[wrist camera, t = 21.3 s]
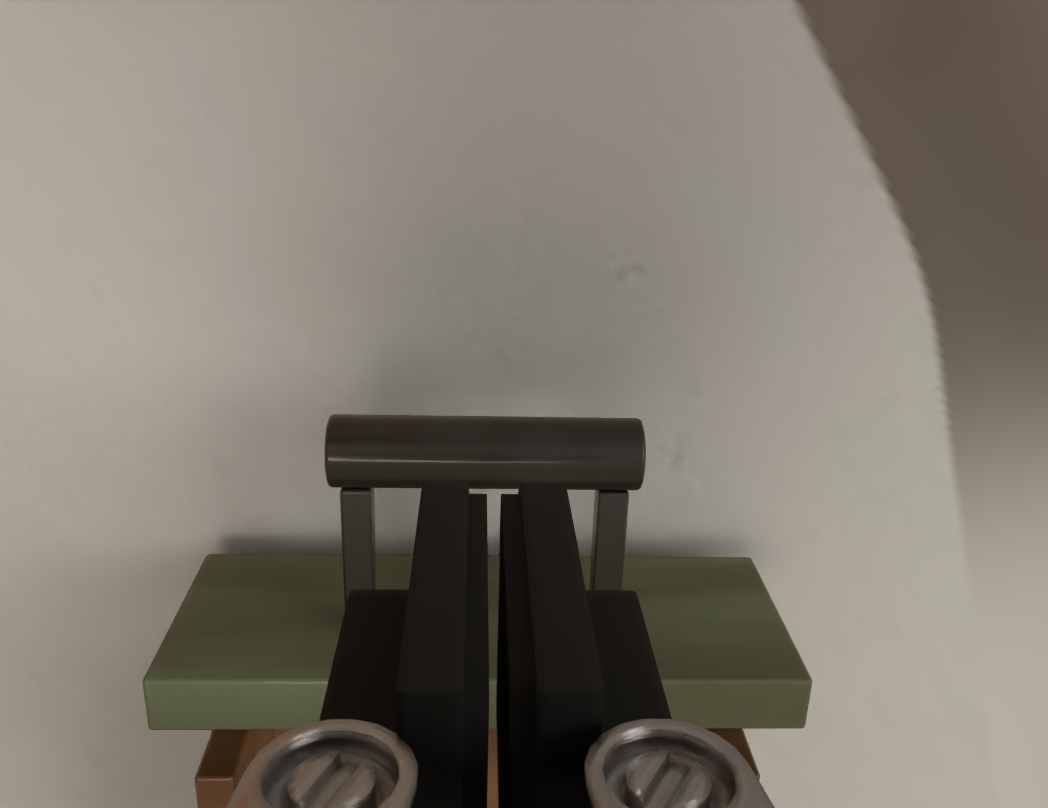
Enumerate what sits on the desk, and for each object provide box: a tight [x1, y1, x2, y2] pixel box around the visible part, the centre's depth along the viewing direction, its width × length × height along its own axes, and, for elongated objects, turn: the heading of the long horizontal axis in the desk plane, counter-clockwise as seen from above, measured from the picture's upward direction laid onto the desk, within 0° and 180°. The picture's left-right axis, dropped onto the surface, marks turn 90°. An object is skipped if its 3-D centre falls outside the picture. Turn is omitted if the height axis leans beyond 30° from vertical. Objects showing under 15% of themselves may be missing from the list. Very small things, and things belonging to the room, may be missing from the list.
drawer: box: [143, 414, 812, 808], centre depth 23 cm, size 18×13×5 cm
